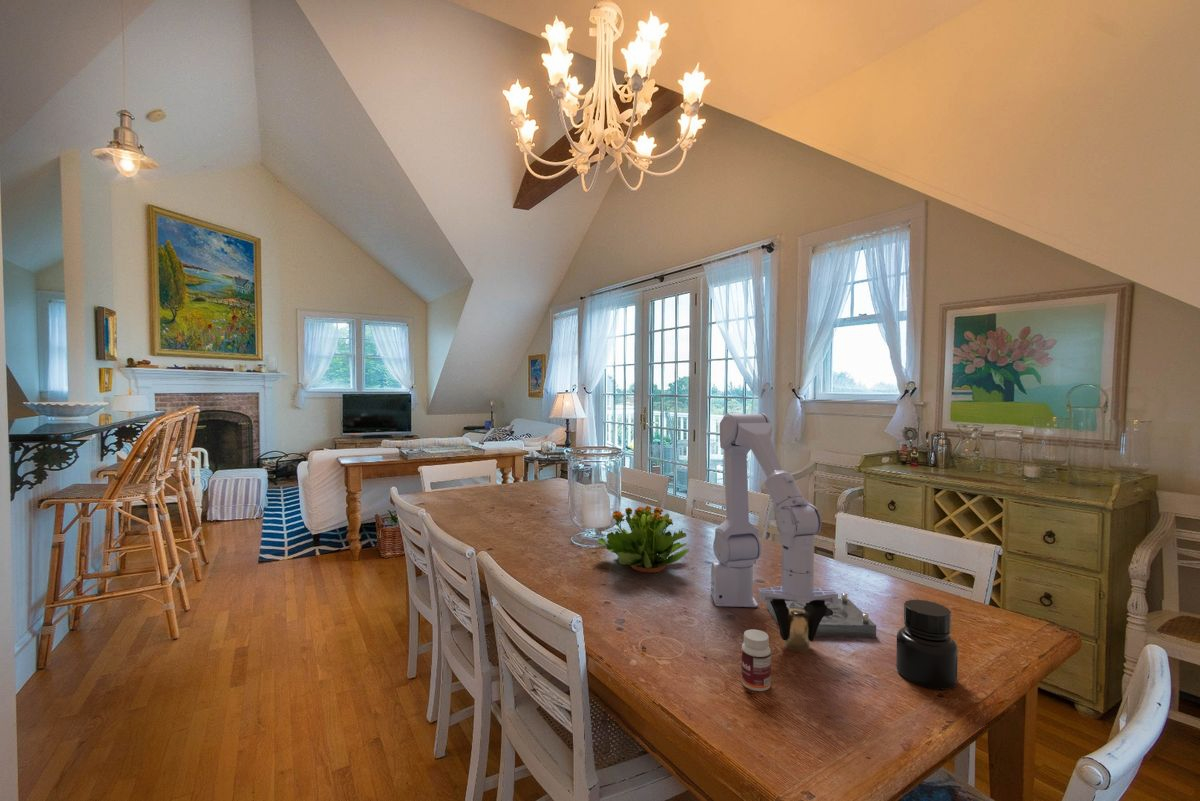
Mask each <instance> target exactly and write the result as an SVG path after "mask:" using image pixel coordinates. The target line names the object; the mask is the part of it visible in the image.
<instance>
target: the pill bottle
mask: <svg viewBox="0 0 1200 801" xmlns="http://www.w3.org/2000/svg"><path fill="white" fill-rule="evenodd" d="M769 645H770V636H769V634H768V633H767V632H765V631H763V630H759V629H755V628H754V629H750V628H749V629H748V630H745V631H744V633H743V643H742V644H741V651H740V652H741V659H740V660H741V661H740V663H741V664H740V667H741V668H740V675H741V676H740V677H741V678H740V679H741V680H740V681H741V684H742V685H743V686H744V687H745V688H747V689H748V690H751V691H755V692H765V691H767V690H769V689H770V687H771V683H772V682H771V681H772V680H771V679H772V678H771V676H772V674H771V673H772V671H771V670H772V668H771V667H772V649H771V647H770V646H769Z"/></svg>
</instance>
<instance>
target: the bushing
mask: <svg viewBox="0 0 1200 801" xmlns="http://www.w3.org/2000/svg"><path fill="white" fill-rule="evenodd" d="M809 621H810V615H809V613H808V612H806V611H804V610H801V609H796V608H790V609H789V614H788V621H787V634H788V637H787V640H784V647H785V648H786V649H788V650H789V651H790V652H793V653H794V652H795V653H807V652H809V651H810V640H809Z"/></svg>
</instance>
